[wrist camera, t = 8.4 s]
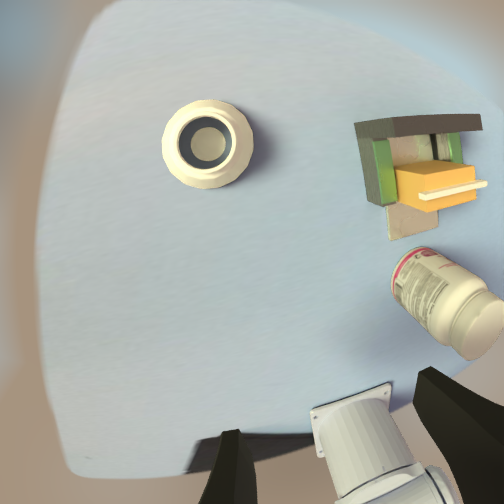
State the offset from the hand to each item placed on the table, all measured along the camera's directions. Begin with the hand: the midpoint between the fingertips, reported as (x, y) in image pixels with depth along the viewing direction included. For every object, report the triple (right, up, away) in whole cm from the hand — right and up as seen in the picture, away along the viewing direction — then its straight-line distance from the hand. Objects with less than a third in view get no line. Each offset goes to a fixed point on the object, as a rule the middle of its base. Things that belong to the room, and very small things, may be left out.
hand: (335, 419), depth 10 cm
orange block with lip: (+7, +11, +7) cm, 15 cm away
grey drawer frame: (+7, +11, +8) cm, 16 cm away
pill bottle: (+9, +5, +11) cm, 15 cm away
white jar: (-6, +12, +7) cm, 15 cm away
